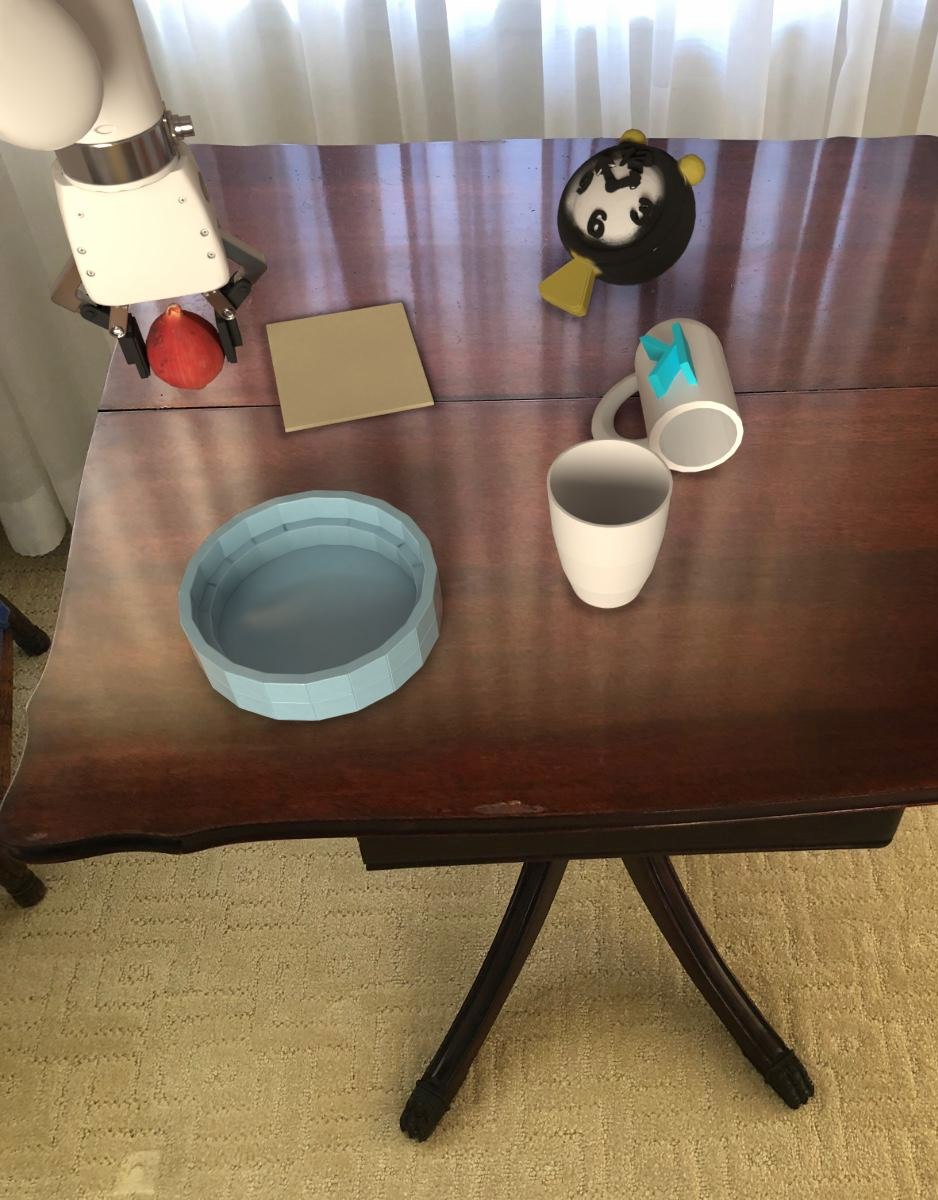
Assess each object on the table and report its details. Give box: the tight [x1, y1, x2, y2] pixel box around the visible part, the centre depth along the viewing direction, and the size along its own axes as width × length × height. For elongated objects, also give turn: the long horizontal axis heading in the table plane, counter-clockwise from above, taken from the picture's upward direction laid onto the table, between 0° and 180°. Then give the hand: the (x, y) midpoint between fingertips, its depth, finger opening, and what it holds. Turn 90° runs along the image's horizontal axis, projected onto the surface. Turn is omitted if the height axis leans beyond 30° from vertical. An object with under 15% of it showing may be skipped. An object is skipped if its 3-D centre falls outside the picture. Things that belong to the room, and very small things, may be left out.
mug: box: [591, 317, 744, 473], centre depth 86 cm, size 12×9×12 cm
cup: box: [546, 438, 674, 609], centre depth 75 cm, size 8×8×10 cm
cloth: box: [265, 301, 435, 433], centre depth 93 cm, size 12×14×1 cm
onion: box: [145, 302, 226, 391], centre depth 86 cm, size 6×6×8 cm
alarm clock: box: [537, 128, 707, 317], centre depth 98 cm, size 12×15×15 cm
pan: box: [177, 489, 444, 722], centre depth 74 cm, size 17×17×4 cm
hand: (188, 358), depth 87 cm, fingers closed on onion, 6 cm apart
